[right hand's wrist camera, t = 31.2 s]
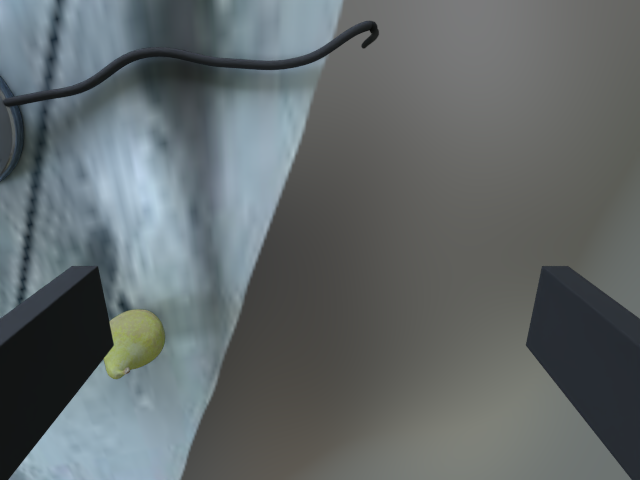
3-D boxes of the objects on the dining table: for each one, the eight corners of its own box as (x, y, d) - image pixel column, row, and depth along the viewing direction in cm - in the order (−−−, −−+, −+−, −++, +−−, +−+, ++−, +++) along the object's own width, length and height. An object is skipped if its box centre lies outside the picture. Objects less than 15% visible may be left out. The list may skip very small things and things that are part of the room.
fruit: (106, 318, 51) (45, 383, 40) (150, 286, 50) (101, 345, 38) (144, 355, 53) (96, 427, 42) (188, 325, 52) (151, 393, 40)
